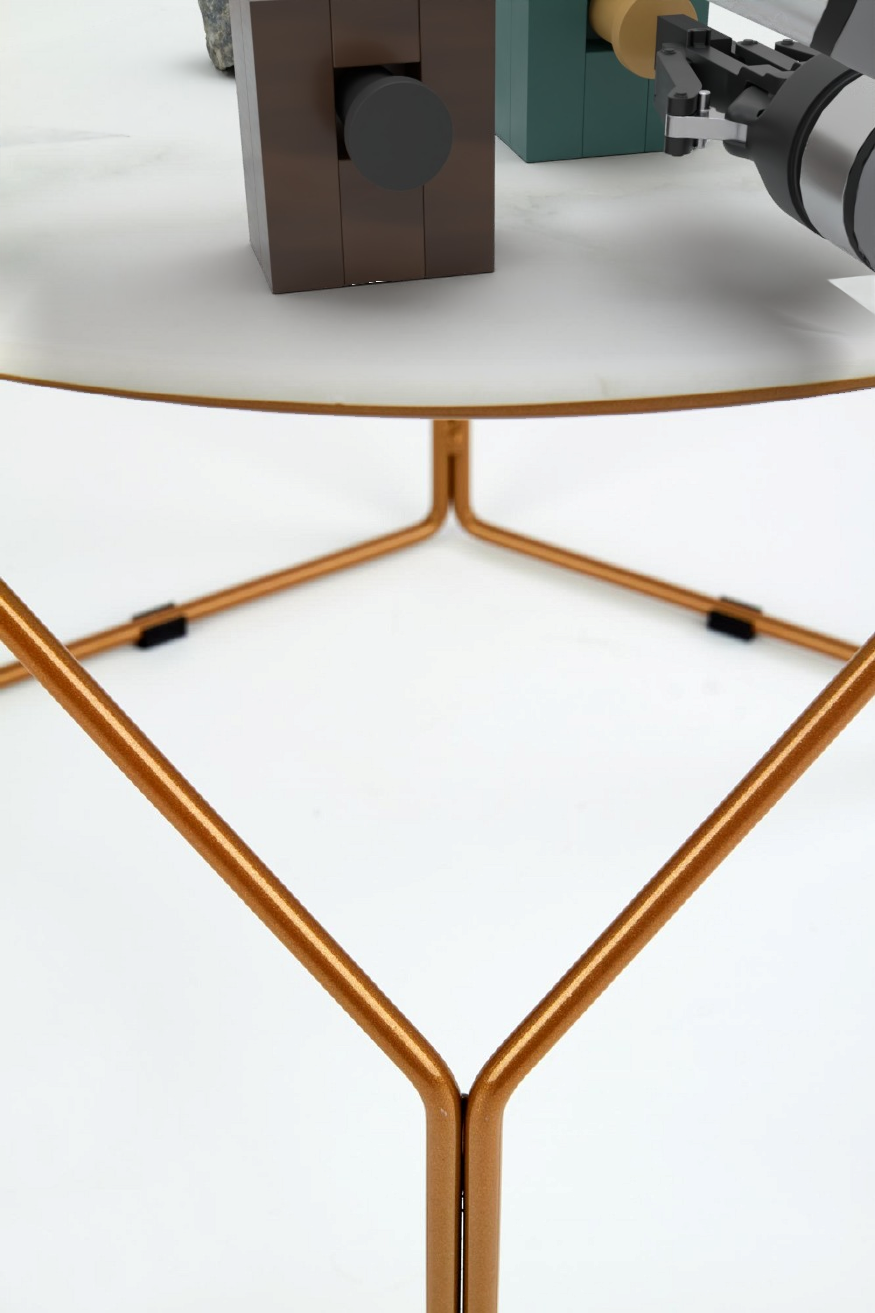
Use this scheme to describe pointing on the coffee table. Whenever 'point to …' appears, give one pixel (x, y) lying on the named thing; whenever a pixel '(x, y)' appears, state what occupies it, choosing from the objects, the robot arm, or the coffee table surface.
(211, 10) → the rock
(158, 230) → the coffee table surface
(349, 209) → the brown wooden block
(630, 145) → the block
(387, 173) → the knob
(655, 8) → the knob
